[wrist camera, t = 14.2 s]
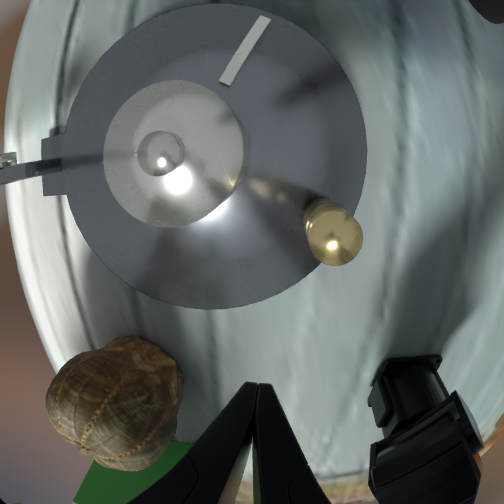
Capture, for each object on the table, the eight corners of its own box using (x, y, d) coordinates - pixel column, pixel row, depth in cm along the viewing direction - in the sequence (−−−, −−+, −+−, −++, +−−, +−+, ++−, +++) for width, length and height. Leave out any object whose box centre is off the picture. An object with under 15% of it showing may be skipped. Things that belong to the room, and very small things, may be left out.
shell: (162, 307, 22) (87, 416, 11) (211, 396, 25) (180, 499, 14) (79, 322, 24) (9, 395, 13) (129, 397, 27) (87, 474, 16)
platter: (411, 211, 16) (453, 234, 11) (169, 337, 21) (145, 382, 16) (246, -30, 11) (234, -73, 6) (41, 136, 16) (-5, 141, 11)
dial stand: (108, 126, 17) (10, 124, 8) (109, 190, 19) (15, 222, 10) (48, 138, 18) (-37, 149, 9) (50, 194, 20) (-32, 223, 11)
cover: (274, 171, 15) (271, 178, 11) (174, 233, 17) (143, 258, 13) (208, 71, 13) (184, 47, 9) (117, 141, 15) (74, 142, 11)
